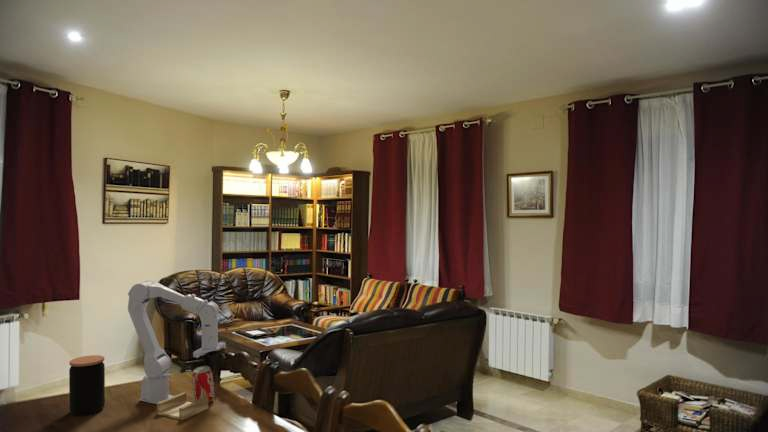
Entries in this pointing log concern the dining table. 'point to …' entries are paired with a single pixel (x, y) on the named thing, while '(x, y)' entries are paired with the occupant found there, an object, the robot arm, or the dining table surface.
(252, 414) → the dining table surface
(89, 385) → the coffee jar
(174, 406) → the cradle
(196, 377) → the soda can
